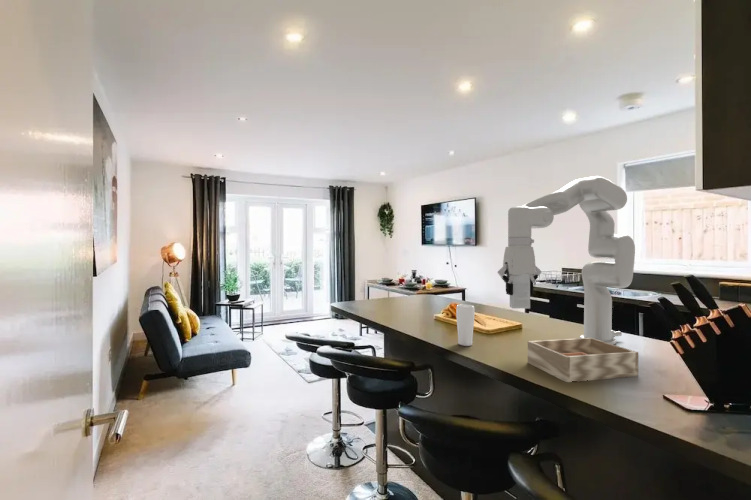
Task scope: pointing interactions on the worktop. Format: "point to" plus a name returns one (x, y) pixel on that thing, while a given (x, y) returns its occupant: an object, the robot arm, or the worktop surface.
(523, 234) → the robot arm
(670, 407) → the worktop surface
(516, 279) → the skincare box
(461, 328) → the drinking glass
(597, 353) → the box
